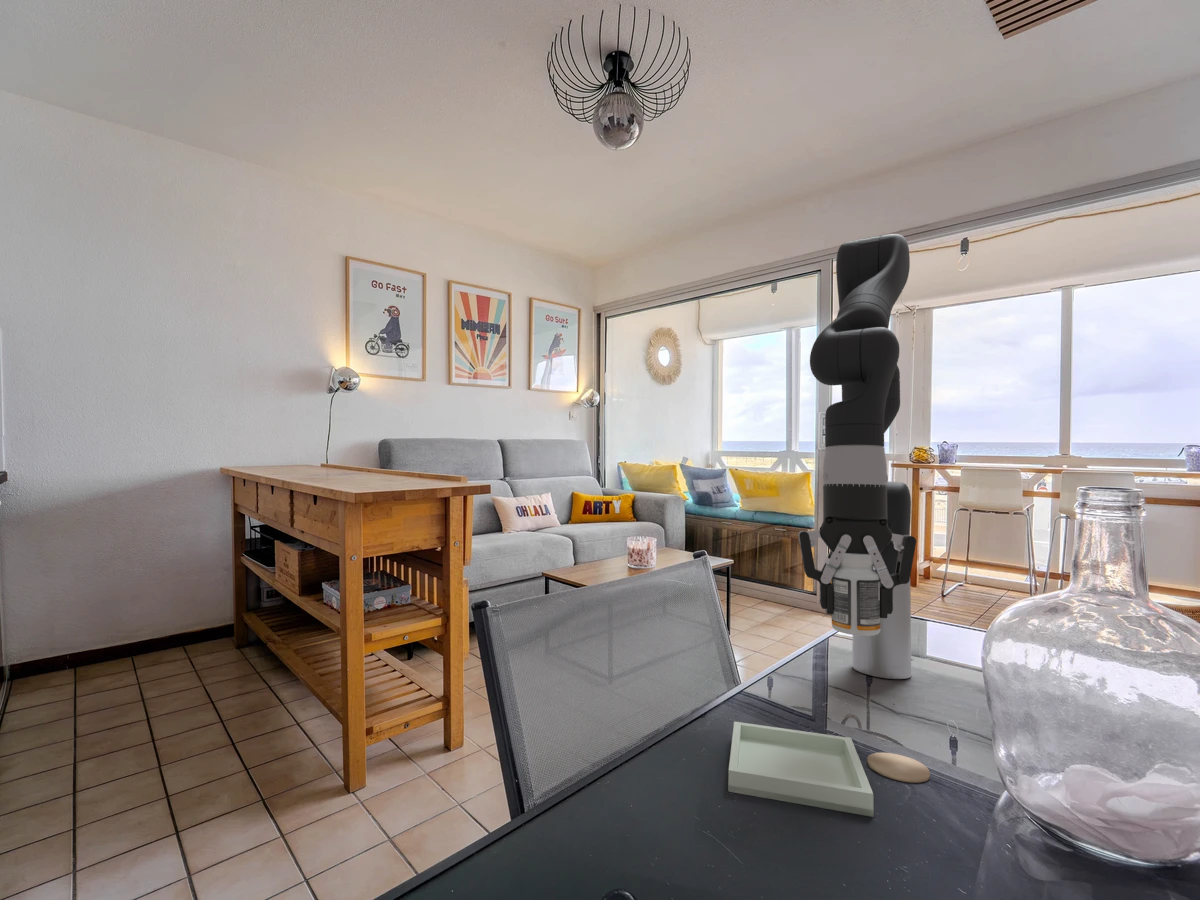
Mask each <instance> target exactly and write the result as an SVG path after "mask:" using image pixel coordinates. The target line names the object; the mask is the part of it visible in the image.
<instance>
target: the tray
mask: <svg viewBox="0 0 1200 900" xmlns="http://www.w3.org/2000/svg"><path fill="white" fill-rule="evenodd" d="M731 737H732V738H731V747H730V755H729V763H728V775H727V776H728V780H727V781H728V782H727V784H728V787H727V788H728V789H727V790H728V791H727V792H731V793H734V794H735V793H736V794H740V795H747V796H753V797H758V798H763V799H769V800H776V801H780V802H786V803H791V804H792V803H793V804H797V805H804V806H810V807H815V808H819V809H820V808H821V809H827V810H831V811H838V812H842V813H848V814H849V813H850V814H853V815H854V814H855V815H859V816H865V817H872V818H873V817H874V811H875V810H874V807H875V806H874V791H873V790H872V787H871V785H870V782H869V779H868V777H867V775H866V773H865V769H864V767H863V764H862V761H861V760H860V757H859V754H858V753H857V752H858V751H857V749H856V747H855V745H854V742H853V740H852V737H848V736H847V737H846V736H840V735H839V736H838V735H833V734H826V733H825V734H824V733H819V732H809V731H804V730H797V729H790V728H783V727H776V726H768V725H761V724H755V723H747V722H741V721H733V730H732V736H731Z"/></svg>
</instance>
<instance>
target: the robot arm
mask: <svg viewBox="0 0 1200 900" xmlns="http://www.w3.org/2000/svg"><path fill="white" fill-rule="evenodd" d="M835 262H836V263H835V269H836V270H835V273H836V287H837V297H838V308H839V309H838V311H837V315H836V318H835V319H833V321H832V322H830V324H828V325H827V326H826V327H825V328H824V329H823V330H822V331H821V332H820V333H819V334H818V336H817V337H816V339H815V341H814V343H813V345H812V347H811V350H810V355H809V367H810V370H811V373H812V375H813V377H814V378H815V379H816V380H817V381H818V382H820V383H821V384H823V385H826V386H841V401H838V402H835V403H832V404H830V405H829V406H828V407H827V408H826V410H825V415H824V435H825V436H824V442H825V443H824V457H823V464H822V465H823V466H822V472H823V473H822V485H823V486H822V494H823V495H822V496H823V497H822V503H823V504H822V510H823V512H822V514H823V515H822V516H823V517H822V518H823V519H822V520H823V521H822V524H821V526H820V527H819V529H815V530H814V529H813V530H807V531H806V530H800V531H799V532H798V535H797V536H798V542H799V548H800V553H801V558H802V565H803V571H804V574H805V575H806V577H808V578H809V579H813V580H816V581H817V582H818V583H819V604H820V607H821V609H823V610H824V611H825V613H826V615H832V614H833V585H832V584H831V579H832V577H833V575H834V573H835V571H836V569H837V568H838V566H839V564H840V562H841V560H842V558H843V553H856V554H869V555H871V559H872V562H873V569H874V571H876V572H877V574H878V576H879V578H880V621H881V622H880V624H881V626H880V632H879V634H877V635H873V636H859V635H852V645H851V646H852V651H851V652H852V668H853V669H854V670H855V671H857V672H859V673H861V674H865V675H867V676H868V675H869V676H872V677H875V678H876V677H877V678H881V679H882V678H883V679H890V680H891V679H892V680H903V679H904V680H905V679H910V678H911V677H912V620H911V619H912V611H911V609H912V602H911V598H912V597H911V596H912V595H911V573H912V569H913V562H914V556H915V551H916V546H917V539H916V538H915V537H914V536H913V535H911V534H910V533H911V513H912V499H911V496H912V495H911V491H910V489H909V487H908V485H907V484H906V483H905V482H902V481H889V475H888V468H887V458H886V452H885V451H886V450H885V433H886V432H887V430H888V429H889V427H890V426H891V424H892V423H893V422H894V420H895V418H896V417H897V415H898V413H899V410H900V406H901V380H900V379H901V375H900V373H901V372H900V368H899V366H898V362H899V358H900V344H899V341H898V338H897V336H896V334H894V332H893V331H892V330H890V329H889V327H890V326H889V325H890V321H891V320H890V319H891V314H892V310H893V308H894V306H895V304H896V302H897V301H898V299H899V297H900V295H901V294H902V292H903V290H904V288H905V286H906V285H907V282H908V279H909V273H910V268H911V267H910V266H911V263H910V262H911V260H910V248H909V244H908V241H907V239H906V237H904V235H902V234H898V233H890V234H883V235H878V236H872V237H868V238H861V239H856V240H850V241H847V242H844V243H842V244H841V245H840V246H839V248H838V250H837V252H836V261H835ZM818 539H821V540H822V541H823V542H824V544H825V545H826V546H827V548H828V549H829V552H828V554H827V556H826V559H825V560H824V564H823V566H822V568H821V570H819V569H818V568H816V566H815V562H814V561H815V560H814V557H813V551H812V548H815V547H816V545H817V541H818ZM835 558H837V559H835Z"/></svg>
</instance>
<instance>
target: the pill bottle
mask: <svg viewBox="0 0 1200 900" xmlns="http://www.w3.org/2000/svg"><path fill="white" fill-rule="evenodd" d="M835 559H837V558H835ZM831 584H832V585H833V614H831V626H832V628H833V630H835V631H837V632H840V633H842V634H846V635H852V636H853V635H859V636H873V635H877V634H879V632H880V626H881V624H880V622H881V621H880V578H879V576H878V574H877V572H876V571H874V569H873V562H872V559H871V555H869V554H856V553H843V558H842V560H841V562H840V564H839V566H838V568H837V569H836V571H835V573H834V575H833V577H832V579H831Z"/></svg>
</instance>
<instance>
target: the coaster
mask: <svg viewBox="0 0 1200 900" xmlns="http://www.w3.org/2000/svg"><path fill="white" fill-rule="evenodd" d="M867 765H868V767H869V768H870V769H871V770H873V772H876V773H877V774H879V775H881V776H883V777H886V778H888V779H892V780H895V781H899V782H904V783H910V784H911V783H913V784H914V783H917V784H918V783H924V782H927V781H928V780H930V778H931V772H930V769H929V768H928V767H927V766H926V765H925V764H923V763H922V762H920V761H918V760H916V759H914V758H912V757H908V756H906V755H901V754H897V753H891V752H875V753H870V754H869V755H868V756H867Z"/></svg>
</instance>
